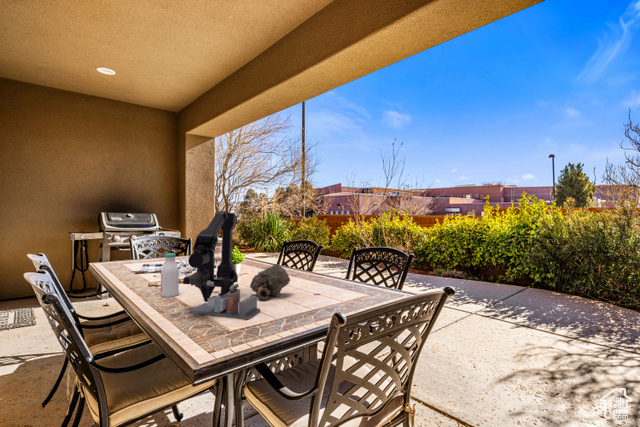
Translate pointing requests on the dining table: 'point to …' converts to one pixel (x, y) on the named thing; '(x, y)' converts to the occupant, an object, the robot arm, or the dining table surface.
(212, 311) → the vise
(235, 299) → the lighter
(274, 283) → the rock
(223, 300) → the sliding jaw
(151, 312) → the dining table surface
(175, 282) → the milk bottle
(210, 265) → the robot arm
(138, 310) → the dining table surface
